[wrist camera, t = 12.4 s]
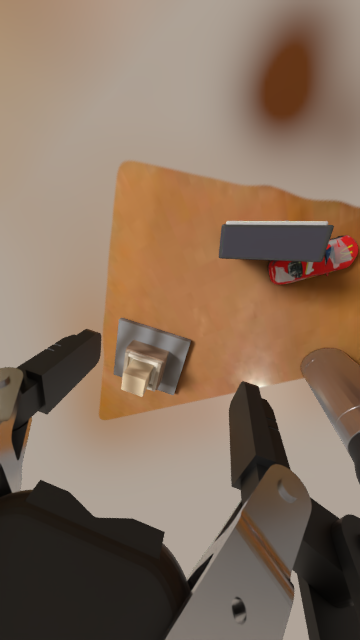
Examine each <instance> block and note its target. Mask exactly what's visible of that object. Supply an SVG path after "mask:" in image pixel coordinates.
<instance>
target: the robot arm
mask: <svg viewBox="0 0 360 640" xmlns="http://www.w3.org/2000/svg"><path fill="white" fill-rule="evenodd" d="M100 352H101V334H100V333H98V332H95V331H92V330H89V329H85V330H84V331H82V332H81V333H79V334H78V335H71V336H68V337H65V338H63V339H61V340H60V341H58V342H56V343H55V344H54V345H52V346H50V347H48V349H45V350H44V351H42V352H41V353H39V354H37V355H36V356H34V357H33V358H31V359H30V360H28V361H26V362H25V363H23V364H22V365H20V366H18V367H17V368H13V367H5V368H0V640H282V639H283V636H284V632H285V629H286V625H287V622H288V618H289V615H290V612H291V608H292V604H293V600H294V586H293V584H292V583H291V582H290V576H291V571H292V570H294V571H295V572H296V573H297V575H298V581H299V587H300V592H301V597H302V602H303V608H304V613H305V619H306V624H307V629H308V635H309V640H360V518H358V517H356V516H354V515H346V516H344V517H342V518H341V519H339V518H338V517H336V516H335V515H334V514H332V513H331V512H330V511H328V510H327V509H325V508H324V507H323V506H321V505H320V504H318V503H317V502H316V501H314V500H313V499H312V498H310V496H309V494H308V491H307V489H306V487H305V486H304V484H303V483H302V482H301V480H300V479H299V478H298V476H297V475H296V474H294V473H293V472H292V471H291V470H290V467H289V463H288V460H287V456H286V453H285V450H284V446H283V443H282V439H281V436H280V433H279V431H278V426H277V423H276V419H275V415H274V412H273V409H272V408H271V406H270V405H269V403H268V402H267V400H265V399H262V398H261V395H260V391H259V387H258V386H256V385H253V384H250V383H247V382H244V381H243V382H241V384H240V386H239V388H238V390H237V391H236V393H235V395H234V397H233V399H232V401H231V404H230V408H229V426H230V454H231V481H232V487H234V488H237V489H239V490H241V498H242V500H241V501H240V502H239V503H238V505H237V506H236V508H235V509H234V511H233V512H232V514H231V515H230V517H229V519H228V520H227V521H226V523H225V524H224V526H223V527H222V529H221V530H220V532H219V533H218V535H217V536H216V538H215V539H214V541H213V542H212V544H211V545H210V547H209V548H208V549H207V551H206V552H205V553H204V555H203V556H202V557H201V559H200V560H199V562H198V563H197V564H196V566H195V567H194V569H193V570H192V572H191V573H190V575H189V576H188V578H187V579H186V577H185V575H184V573H183V571H182V569H181V567H180V565H179V563H178V562H177V560H176V559H175V557H174V555H173V554H172V553H171V552H170V550H169V549H168V548H167V547H166V546H165V545H164V544H163V543H162V542H163V537H164V532H163V531H161V530H158V529H156V528H154V527H151V526H149V525H147V524H144V523H142V522H139V521H137V520H134V519H126V518H96V517H94V516H93V515H92V514H91V513H90V512H89V511H87V510H86V508H85V507H84V506H83V505H82V504H81V503H80V502H79V501H78V500H76V498H75V497H74V496H73V495H72V494H71V493H69V492H68V491H66V490H63V489H61V488H58V487H56V486H54V485H51V484H49V483H46V482H44V481H42V480H40V481H39V483H38V484H37V485H36V487H35V488H34V489H33V490H25V491H20V489H21V480H22V474H21V473H22V462H23V458H24V454H25V449H26V445H27V440H28V436H29V431H30V426H31V422H32V416H33V415H34V414H35V413H36V412H37V411H39V412H42V413H45V414H48V413H49V412H50V411H51V410H52V409H53V408H54V407H55V406H56V405H57V404H58V403H59V402H60V401H61V400H62V399H63V398H64V397H65V396H66V395H67V394H68V393H69V392H70V391H71V390H72V389H73V388H74V387H75V386H76V385H77V384H78V383H79V382H80V381H81V380H82V378H84V377H85V376H86V374H88V373H89V372H90V370H92V369H93V368H94V367H95V366H96V364H97V363H98V361H99V359H100ZM301 372H302V374H303V376H304V377H305V379H306V381H307V383H308V384H309V386H310V388H311V390H312V391H313V393H314V395H315V396H316V398H317V400H318V402H319V403H320V405H321V407H322V408H323V410H324V412H325V413H326V415H327V417H328V419H329V420H330V422H331V424H332V425H333V427H334V429H335V431H336V432H337V434H338V435H339V437H340V439H341V441H342V442H343V444H344V446H345V447H346V449H347V451H348V453H349V454H350V456H351V458H352V460H353V462H354V464H355V471H356V476H357V479H358V481H359V483H360V366H359V365H358V364H357V363H356V362H354V361H353V360H352V359H351V358H350V357H349V356H348V355H347V354H346V353H345V352H343V351H341V350H338V349H333V348H324V349H319V350H316V351H314V352H312V353H310V354H309V355H308V356H306V357H305V359H304V360H303V362H302V364H301Z"/></svg>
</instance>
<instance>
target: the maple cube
mask: <svg viewBox="0 0 360 640" xmlns="http://www.w3.org/2000/svg"><path fill="white" fill-rule="evenodd" d="M153 366H154V365H151V364H148V363H145V362H142V361H139V360H136V359H133V360H132V362H131V363H130V364H129V366H128V367H127V368H126V370H125V371H124V373H123V380H122V388H121V390H124V391H127V392H130V393H133V394H135V395H138V396H141V397H143V395H144V393H145V391H146V389H147V387H148V385H149V383H150V380H151V376H152V371H153Z"/></svg>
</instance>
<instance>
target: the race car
mask: <svg viewBox="0 0 360 640" xmlns="http://www.w3.org/2000/svg"><path fill="white" fill-rule="evenodd" d="M357 254H358V245H357V243H356V241H355V240H354V239H353V238H351V237H350V236H348V235H345V236H339V237H337V238H334V239H330V240H329V243H328V246H327V249H326V252H325V255H324V258H323V261H322V262H301V261H275V260H271V261H270V262H269V264H268V272H269V276H270V279H271V280H270V281H272V282H273V283H274V284H288V283H292V282H296V281H300V280H303V279H307V278H311V277H315V276H318V275H322V274H326V276H328V274H329V273H330V272H333V271H336V270H340V269H344V268H347V267H348V266H350V265H351V264H352V262H353V261H354V260H355V258H356V256H357Z"/></svg>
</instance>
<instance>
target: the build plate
mask: <svg viewBox="0 0 360 640" xmlns="http://www.w3.org/2000/svg"><path fill="white" fill-rule="evenodd" d="M190 342H191V340H190V339H187V338H184V337H181V336H178V335H174V334H171V333H168V332H165V331H162V330H159V329H156V328H153V327H150V326H146V325H143V324H140V323H137V322H134V321H131V320H128V319H125V318H120V319H119V325H118V336H117V346H116V356H115V366H114V375H117V376H120V377H122V380H123V373H124V371H125V370H126V368H127V367H128V366H129V364H130V363H131V362H132V360H133V359H136V360H139V361H142V362H145V363H148V364H151V365H154V366H153V371H152V376H151V380H150V383H149V385H148V387H147V389H149V390H152V391H155V390H160V391H163V392H165V393H168V394H171V395H174V393H175V390H176V387H177V383H178V380H179V377H180V374H181V371H182V368H183V364H184V361H185V358H186V355H187V352H188V348H189V345H190Z"/></svg>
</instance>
